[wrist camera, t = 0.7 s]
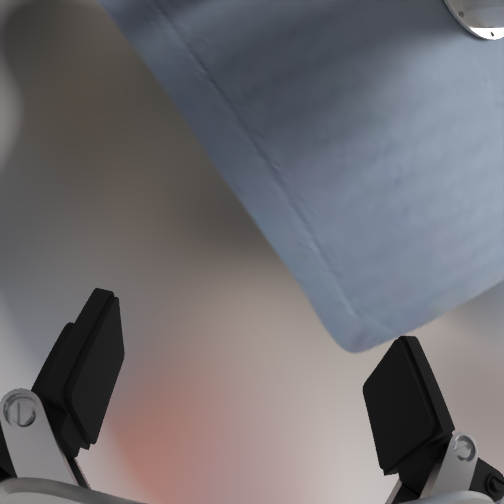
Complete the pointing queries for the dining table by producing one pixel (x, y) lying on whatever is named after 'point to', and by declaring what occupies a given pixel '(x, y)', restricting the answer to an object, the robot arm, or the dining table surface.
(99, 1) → the dining table surface
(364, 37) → the dining table surface
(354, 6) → the dining table surface
